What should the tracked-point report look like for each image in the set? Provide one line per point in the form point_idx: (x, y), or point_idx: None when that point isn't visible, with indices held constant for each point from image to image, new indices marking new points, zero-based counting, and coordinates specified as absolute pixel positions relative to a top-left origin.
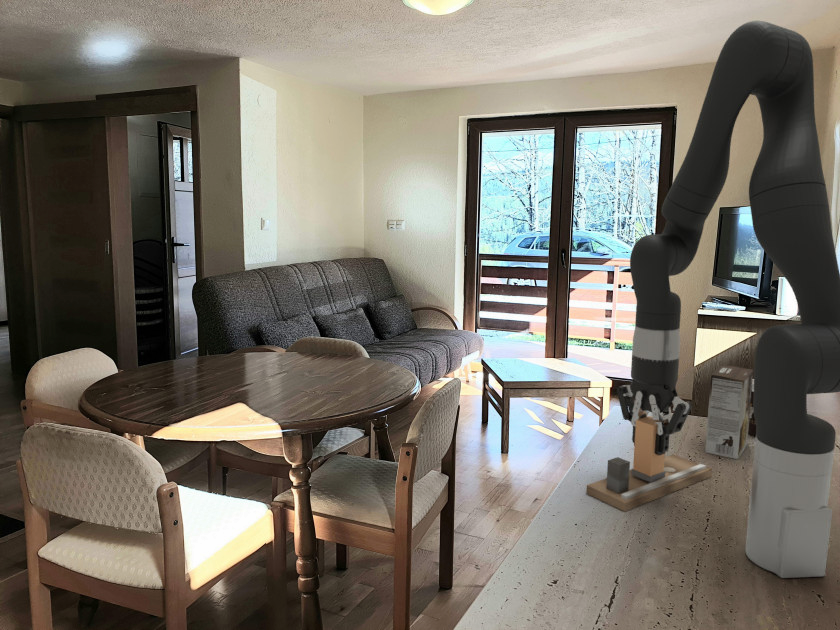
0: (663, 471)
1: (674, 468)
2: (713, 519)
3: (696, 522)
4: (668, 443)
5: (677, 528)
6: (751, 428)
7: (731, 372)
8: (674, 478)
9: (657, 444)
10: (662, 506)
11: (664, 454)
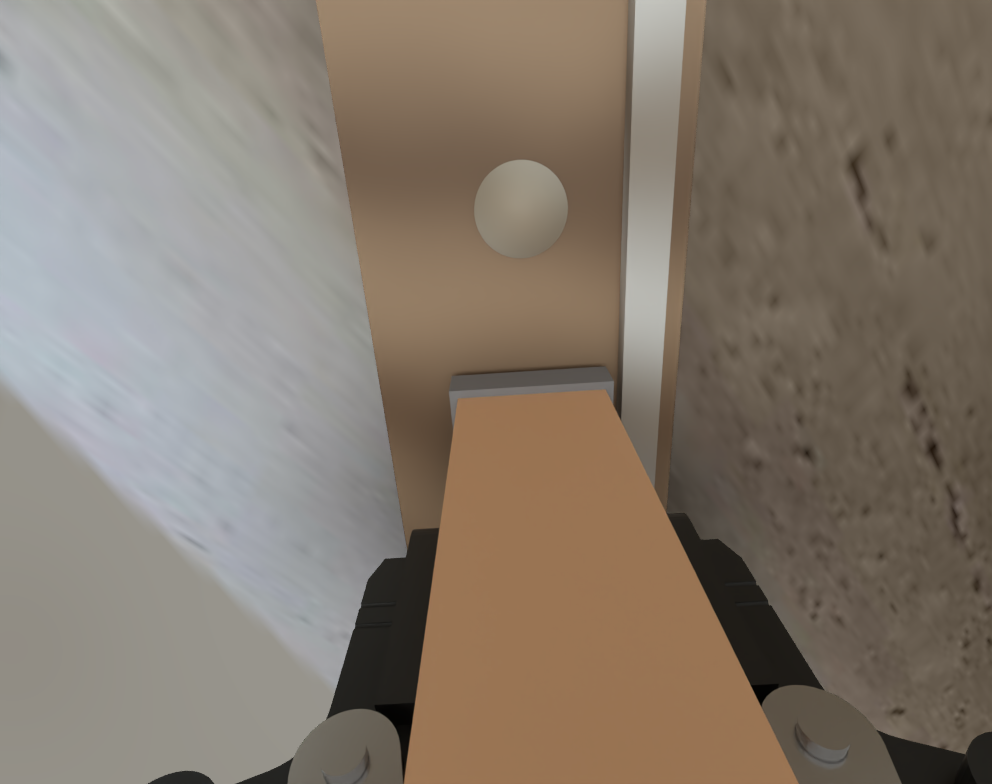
0: (605, 391)
1: (524, 143)
2: (956, 428)
3: (903, 510)
4: (766, 604)
5: (862, 602)
6: None
7: None
8: (661, 338)
9: None
10: (716, 514)
11: (638, 461)
